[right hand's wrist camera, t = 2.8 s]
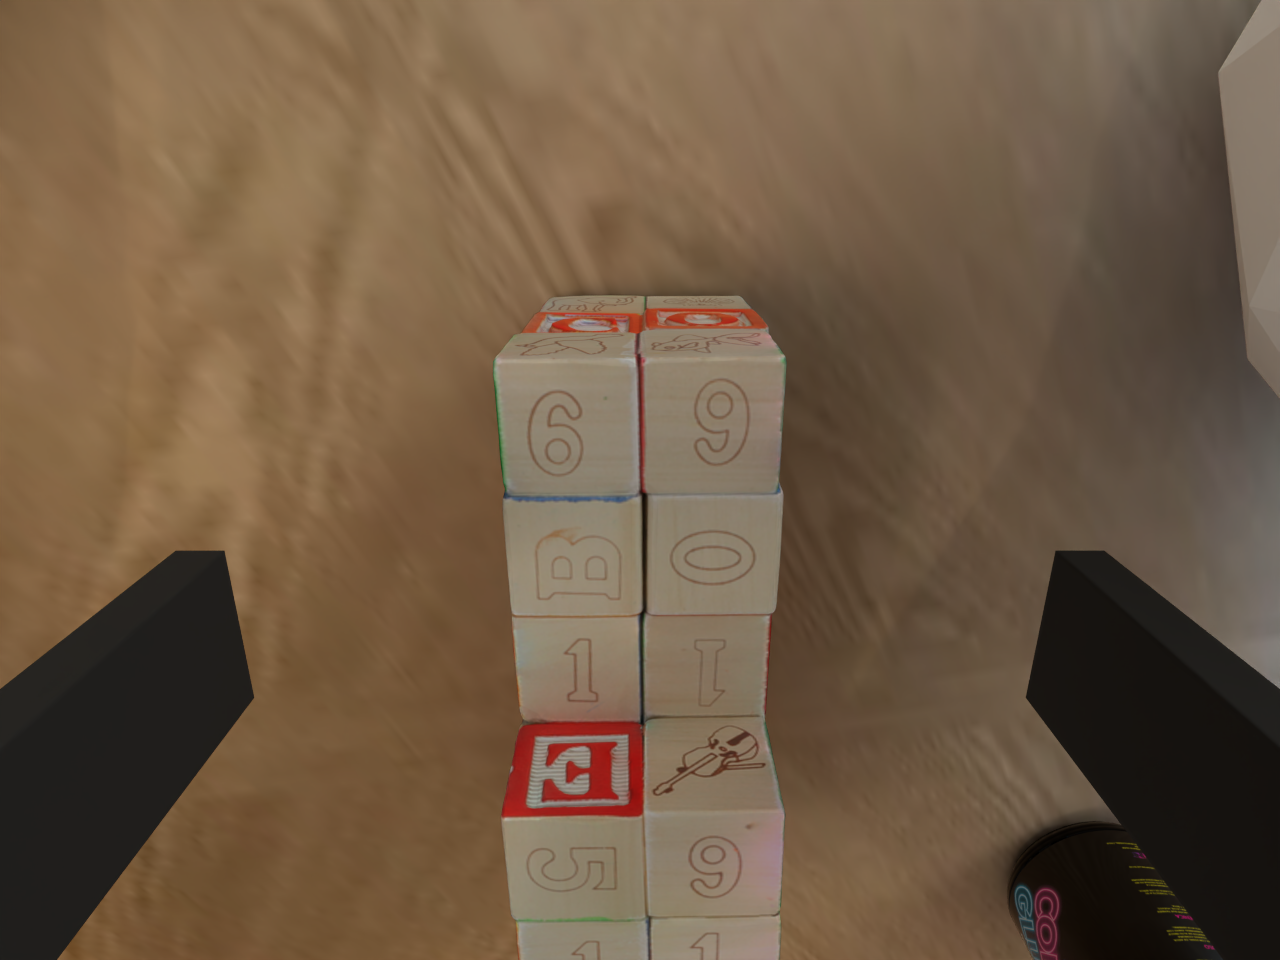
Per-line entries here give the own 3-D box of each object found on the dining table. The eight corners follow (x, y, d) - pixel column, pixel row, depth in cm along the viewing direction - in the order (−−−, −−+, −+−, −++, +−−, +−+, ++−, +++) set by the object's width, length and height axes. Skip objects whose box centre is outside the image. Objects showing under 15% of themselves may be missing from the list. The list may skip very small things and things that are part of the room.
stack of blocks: (543, 292, 25) (458, 389, 13) (743, 291, 25) (833, 387, 13) (567, 825, 32) (526, 1182, 21) (720, 825, 32) (764, 1182, 21)
